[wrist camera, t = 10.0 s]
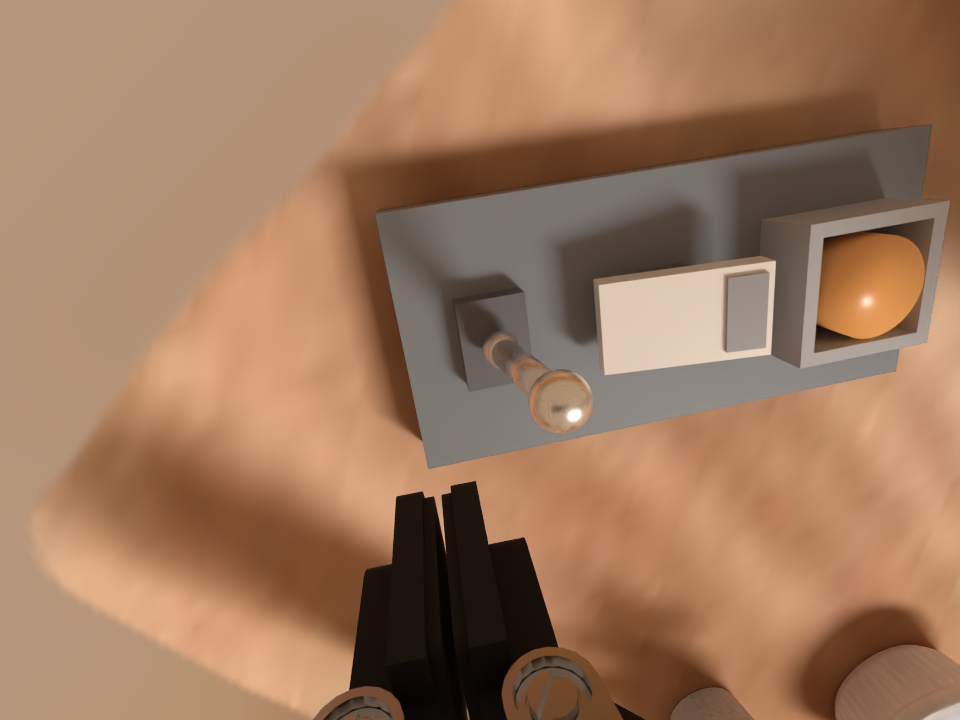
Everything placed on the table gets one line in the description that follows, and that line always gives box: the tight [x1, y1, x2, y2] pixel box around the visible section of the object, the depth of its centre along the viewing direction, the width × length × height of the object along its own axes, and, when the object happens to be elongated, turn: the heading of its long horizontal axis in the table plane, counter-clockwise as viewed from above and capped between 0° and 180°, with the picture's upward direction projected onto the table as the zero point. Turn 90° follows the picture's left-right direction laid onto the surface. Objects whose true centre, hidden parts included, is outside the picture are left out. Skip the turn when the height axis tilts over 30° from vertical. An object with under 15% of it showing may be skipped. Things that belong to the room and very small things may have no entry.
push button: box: [816, 231, 925, 339], centre depth 23 cm, size 4×4×3 cm
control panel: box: [375, 124, 950, 469], centre depth 24 cm, size 25×12×6 cm, turn 98°
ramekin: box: [835, 645, 960, 720], centre depth 38 cm, size 11×11×5 cm
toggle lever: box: [482, 331, 593, 433], centre depth 19 cm, size 2×2×8 cm
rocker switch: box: [593, 256, 776, 375], centre depth 22 cm, size 7×4×1 cm, turn 98°
